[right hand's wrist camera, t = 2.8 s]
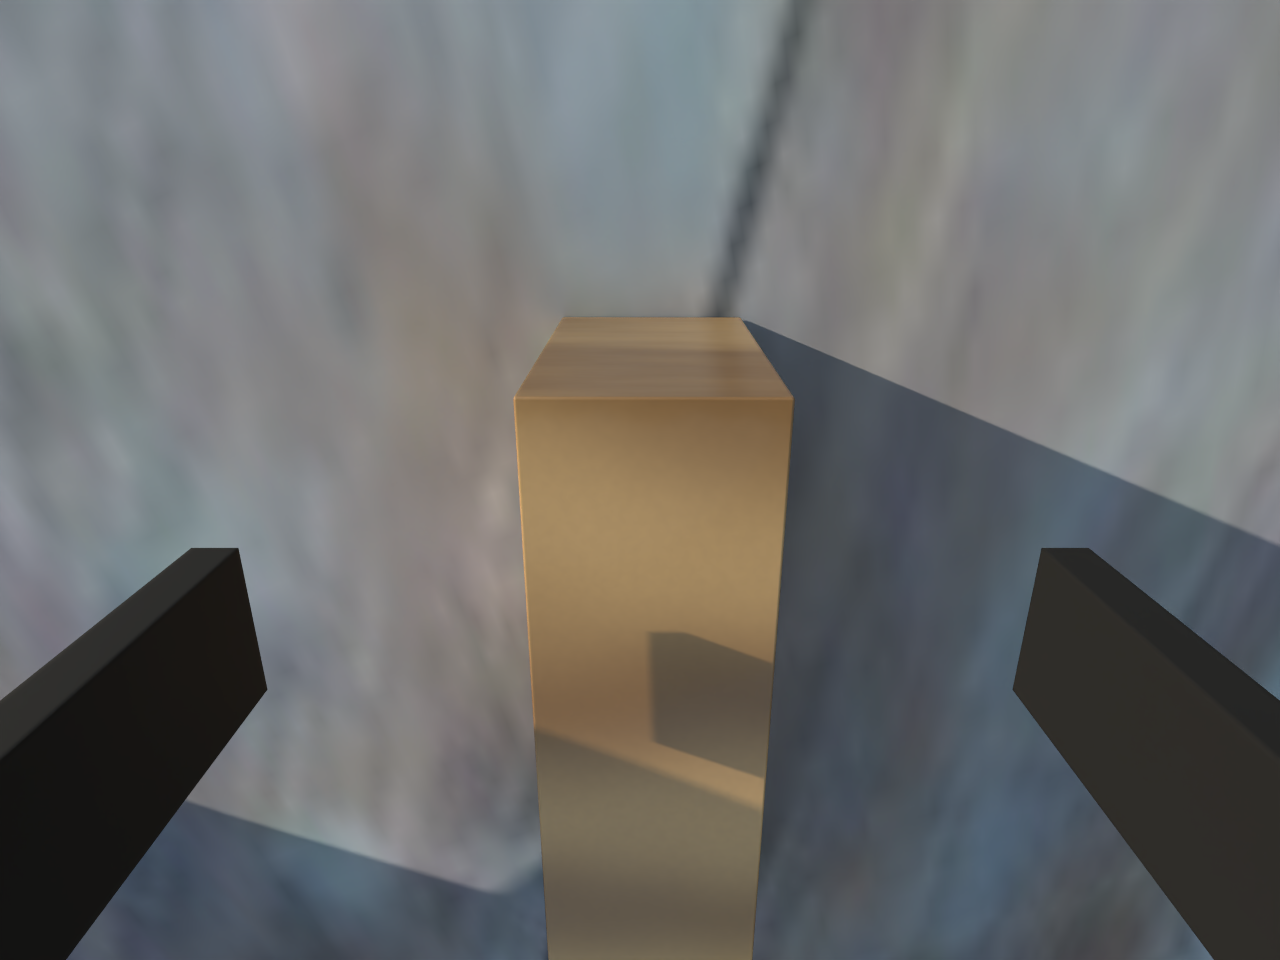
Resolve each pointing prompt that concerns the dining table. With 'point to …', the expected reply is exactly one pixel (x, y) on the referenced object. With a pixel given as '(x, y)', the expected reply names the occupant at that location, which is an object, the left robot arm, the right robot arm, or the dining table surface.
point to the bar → (652, 627)
